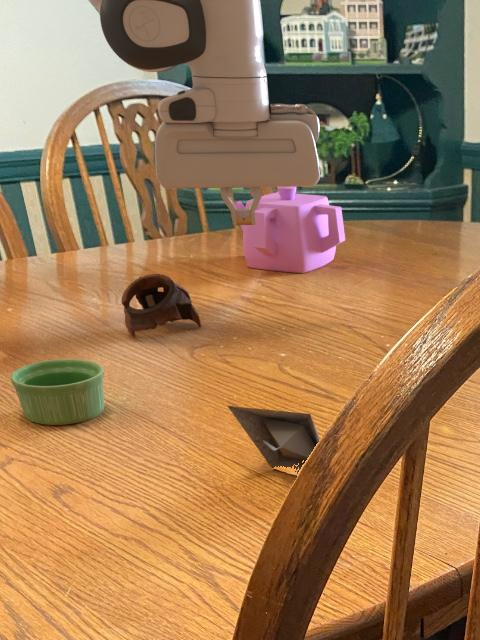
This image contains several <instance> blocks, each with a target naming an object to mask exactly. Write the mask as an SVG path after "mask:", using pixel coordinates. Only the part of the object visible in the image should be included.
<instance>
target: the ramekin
mask: <svg viewBox="0 0 480 640" xmlns="http://www.w3.org/2000/svg"><path fill="white" fill-rule="evenodd" d="M104 372H105V371H104V368H103V366H101V365H100V364H99V363H96V362H95V361H91V360H86V359H78V358H62V359H61V358H60V359H58V358H57V359H50V360H42V361H39V362H38V361H37V362H33V363H29V364H27V365H23V366H21V367H19V368H17V369H16V370H14V371H13V372H12V373H11V374H10V378H9V379H10V382H11V384H12V386H13V387H14V389H15V392H16V394H17V398H18V400H19V403H20V407H21V410H22V412H23V415H24V417H25V418H26V419H27V420H28V421H31V422H33V423H36V424H39V425H45V426H65V425H74V424H78V423H83V422H86V421H89V420H92V419H94V418H96V417H98V416H99V415H101V414H102V413H103V411H104V410H105V406H106V405H105V404H106V403H105V391H104V380H103V379H104V375H105V374H104Z"/></svg>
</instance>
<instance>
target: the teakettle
mask: <svg viewBox="0 0 480 640" xmlns="http://www.w3.org/2000/svg"><path fill="white" fill-rule="evenodd" d="M276 189H277V192H271V193H268V194H264V195H262V197H261V200H260V202H259V204H258V206H257V208H256V211H255V222H256V225H239V227H240V228H241V231H242V234H243V235H242V238H243V239H242V246H243V247H242V248H243V249H242V250H243V256H244V259H245V262H246V265H247V267H248V268H249V269H256V270H264V271H272V272H281V273H282V272H283V273H293V274H305V273H309V272H311V271H315V270H317V269H319V268H323V267H325V266H326V265H328V264H330V263H331V262H332V261H333V260H334V258H335V255H336V250H337V246H338V245H341V243H343V242H345V241H346V234H345V226H344V218H343V211H342V206H338V205H331V204H330V203H329V199H328V196H326V195H318V194H317V195H316V194H308V193H307V194H306V193H296V192H297V187H276ZM252 200H253V198H251V199H249V200H247V201H246V202H245V205H244V204H243V203H242V201H241V200H238V201H232V203H233V204H234V206H235V207H236V209H249V207H250V204H251V202H252ZM243 218H244V217H243Z"/></svg>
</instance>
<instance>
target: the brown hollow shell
mask: <svg viewBox="0 0 480 640" xmlns="http://www.w3.org/2000/svg"><path fill="white" fill-rule="evenodd" d="M159 289H162V290H163V291H161V290H159ZM134 297H135V299H136V300H137V302H138V303H139V304H138V305H140V306H141V308H134V307H132V306H131V305H130V303H131V301H132V299H133V298H134ZM121 304H122V306H123V313H124V323H125V327H126V329H127V332H128V333H129V334H130V335H131V337H133V338H135V336H136V332H140V331H147V330H155V329H157V328H158V326H163V325H166V324H167V323H169V322H170V323H173V322H176V321H180V320H181V321H188V320H189V321H192V322H194V323H195V324H196V325H197V327H198V328H199V329H201V328H202V324H201V323H202V322H201V318H200V314H199V312H198V311H197V309H196V308H195V306H194V305H193V304H192V299H191V296H190V293H189V292H188V290H187V289H186V288H185V287H183V286H182V285H180V284H178V283H177V282H175V281H174V280H173V279H172V278H170V277H169V276H168V275H165V274H161V273H150V274H146V275H144V276H139V277H138V278H137V279H135V280H133V281H132V282H131V283H130V284H129V285H128V286H127V287H126V288H125V290H124V291H123V293H122V296H121Z"/></svg>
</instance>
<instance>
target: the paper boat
mask: <svg viewBox="0 0 480 640" xmlns="http://www.w3.org/2000/svg"><path fill="white" fill-rule="evenodd" d="M227 408H228V409H229V411H230V412H231V414H232V415H233V416H234V417H235V419H236V421H237V422H238V424H240V427H242V429H243V430H244V431H245V433H246V435H248V437H249V439H250V440H251V441H252V443H253V444H254V445H255V447H256V448H257V450H258V451H259V453H260V454H261V455H262V457H263V458H264V460H265V461H266V462H267V464H268V465H269V466H270V468H271V469H272V468H274V467H275V466H276V467H278V466H279V467H280V466H282V467H283V466H284V467H286V468H287V467H291V468H292V466H293V465H294V464H295V465H298V463H299V465H298V466H297V467H296V466H295V465H294V469H295V468H296V470H297V469H298V467H299V470H300V469H301V467H302V465H303V464H304V463H305V461H306V460H307V458H308V457H309V455H310V454H311V452H312V451H313V449H314V447H315V446H316V444H317V443H318V442H319V440H321V437H320V435H319V432H318V430H317V427H316V425H315V423H314V419H313V417H312V415H311V413H303V412H294V411H286V410H276V409H275V410H274V409H265V408H253V407H245V406H235V405H227ZM303 460H304V462H303V463H302V461H303ZM299 470H298V471H297V474H298V472H299ZM295 472H296V471H295ZM296 476H297V475H296ZM296 476H295V477H296Z"/></svg>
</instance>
